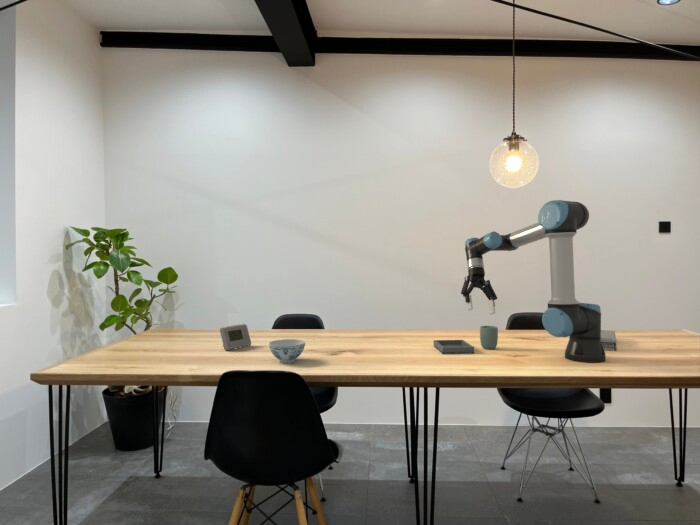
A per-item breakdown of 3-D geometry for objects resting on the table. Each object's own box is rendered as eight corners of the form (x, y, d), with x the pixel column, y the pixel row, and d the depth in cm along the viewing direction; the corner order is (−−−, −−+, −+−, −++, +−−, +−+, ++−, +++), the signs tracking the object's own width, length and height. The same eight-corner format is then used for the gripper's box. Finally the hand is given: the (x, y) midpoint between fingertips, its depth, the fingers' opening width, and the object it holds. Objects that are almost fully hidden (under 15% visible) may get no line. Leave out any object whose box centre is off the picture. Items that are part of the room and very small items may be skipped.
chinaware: (265, 358, 200) (265, 340, 200) (300, 355, 205) (300, 338, 205) (273, 366, 186) (272, 347, 186) (309, 363, 191) (309, 344, 191)
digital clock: (224, 351, 216) (224, 328, 216) (215, 349, 222) (215, 326, 222) (255, 346, 227) (255, 324, 227) (245, 344, 234) (245, 322, 233)
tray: (474, 353, 207) (474, 347, 207) (442, 354, 206) (442, 347, 206) (462, 345, 225) (462, 339, 225) (433, 346, 224) (433, 340, 224)
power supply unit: (570, 349, 218) (570, 338, 218) (573, 337, 247) (573, 328, 247) (616, 352, 209) (616, 341, 209) (614, 340, 238) (614, 330, 238)
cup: (494, 350, 212) (494, 328, 212) (477, 349, 217) (477, 327, 217) (500, 348, 218) (500, 326, 218) (483, 346, 223) (483, 325, 223)
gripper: (489, 276, 234) (495, 317, 225) (450, 267, 223) (454, 310, 214) (501, 271, 228) (507, 313, 219) (460, 261, 217) (466, 305, 208)
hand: (481, 311), depth 217 cm, fingers open, 13 cm apart
